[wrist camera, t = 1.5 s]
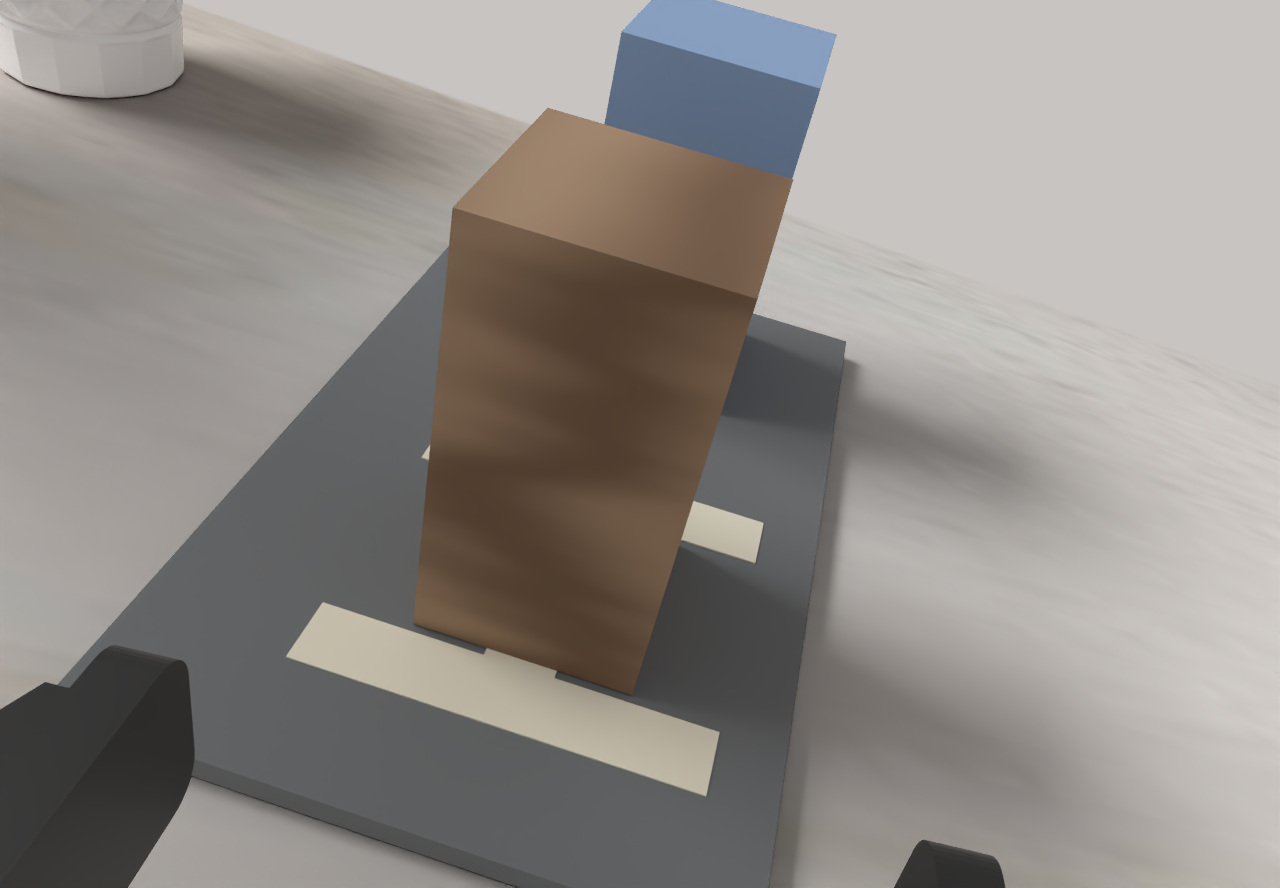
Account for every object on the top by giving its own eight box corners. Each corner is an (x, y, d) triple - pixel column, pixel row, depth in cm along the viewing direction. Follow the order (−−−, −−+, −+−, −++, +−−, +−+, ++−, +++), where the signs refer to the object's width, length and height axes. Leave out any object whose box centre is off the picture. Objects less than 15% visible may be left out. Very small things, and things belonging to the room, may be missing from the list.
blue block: (559, 366, 31) (621, 31, 25) (602, 290, 35) (664, -14, 29) (718, 414, 31) (820, 88, 25) (743, 333, 35) (836, 34, 28)
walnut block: (413, 624, 22) (452, 207, 16) (492, 484, 26) (547, 107, 20) (631, 695, 22) (756, 299, 16) (678, 543, 26) (793, 179, 20)
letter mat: (43, 725, 19) (38, 704, 19) (464, 242, 37) (466, 226, 36) (750, 967, 19) (759, 951, 18) (840, 355, 36) (846, 340, 36)
